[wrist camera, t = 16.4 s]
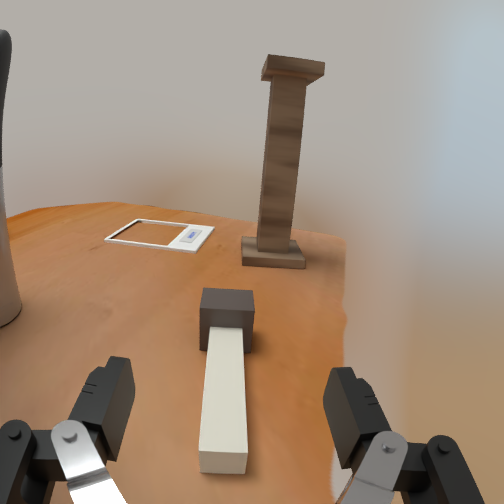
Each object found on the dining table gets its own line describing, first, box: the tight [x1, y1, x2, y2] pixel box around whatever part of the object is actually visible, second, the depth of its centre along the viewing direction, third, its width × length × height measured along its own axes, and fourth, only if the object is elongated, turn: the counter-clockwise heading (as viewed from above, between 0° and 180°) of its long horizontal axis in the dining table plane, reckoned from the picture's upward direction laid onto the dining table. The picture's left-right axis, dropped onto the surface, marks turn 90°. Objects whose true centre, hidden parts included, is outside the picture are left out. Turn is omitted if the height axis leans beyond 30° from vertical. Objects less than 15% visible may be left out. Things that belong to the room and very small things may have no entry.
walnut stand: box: [241, 54, 325, 269], centre depth 50 cm, size 12×10×32 cm
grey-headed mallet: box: [199, 288, 255, 474], centre depth 25 cm, size 18×5×5 cm, turn 3°
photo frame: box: [104, 219, 215, 254], centre depth 62 cm, size 15×1×18 cm
